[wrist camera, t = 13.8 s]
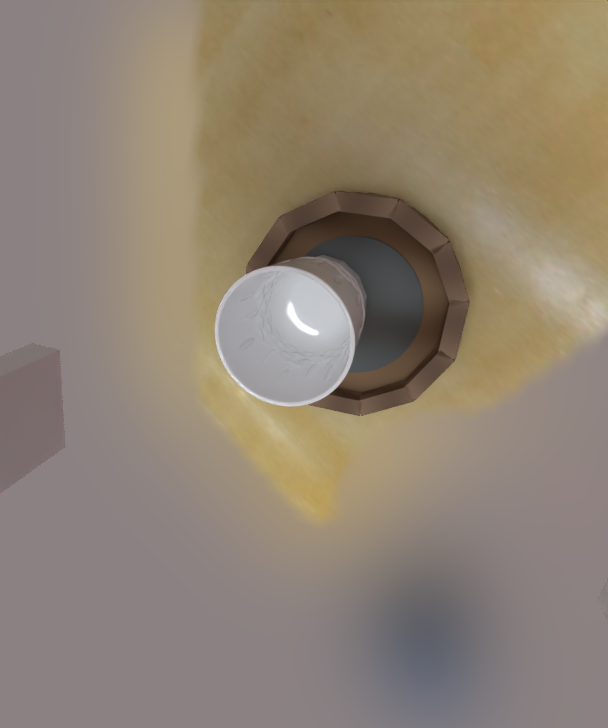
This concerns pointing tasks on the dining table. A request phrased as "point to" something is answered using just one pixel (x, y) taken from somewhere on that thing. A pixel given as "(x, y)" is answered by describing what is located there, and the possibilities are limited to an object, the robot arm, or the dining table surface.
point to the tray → (382, 292)
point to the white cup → (292, 329)
